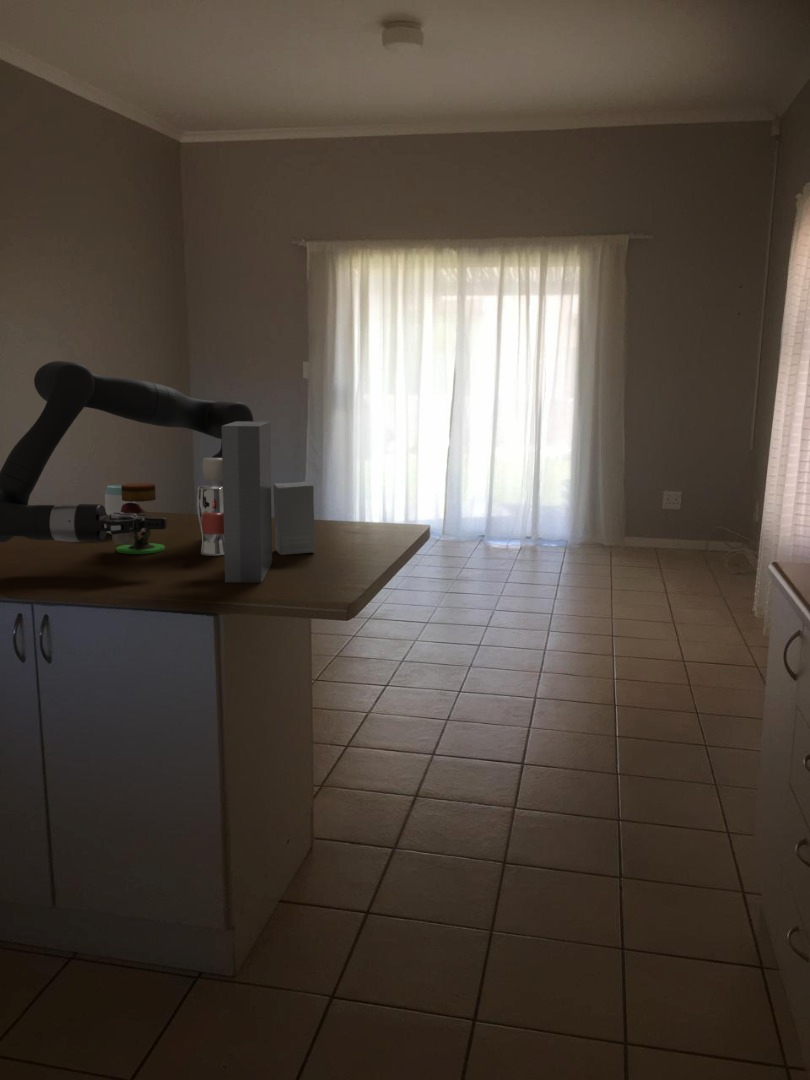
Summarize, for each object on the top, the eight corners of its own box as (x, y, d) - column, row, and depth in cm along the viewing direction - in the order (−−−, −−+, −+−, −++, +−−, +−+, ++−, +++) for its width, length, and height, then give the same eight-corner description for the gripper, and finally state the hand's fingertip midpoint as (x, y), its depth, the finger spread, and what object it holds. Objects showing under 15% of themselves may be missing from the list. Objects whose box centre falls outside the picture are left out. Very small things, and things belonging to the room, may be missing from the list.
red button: (201, 536, 176) (201, 514, 175) (206, 532, 180) (205, 511, 180) (227, 536, 176) (226, 514, 175) (230, 532, 180) (230, 511, 180)
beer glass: (203, 557, 194) (201, 489, 192) (195, 551, 200) (193, 485, 198) (234, 554, 198) (232, 488, 195) (225, 549, 204) (223, 484, 201)
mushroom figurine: (149, 543, 210) (146, 480, 208) (176, 550, 201) (174, 485, 199) (101, 549, 202) (98, 483, 199) (128, 557, 193) (125, 489, 191)
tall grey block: (225, 582, 171) (221, 425, 166) (239, 563, 189) (236, 421, 183) (261, 582, 171) (259, 426, 166) (272, 563, 189) (270, 421, 184)
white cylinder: (202, 481, 174) (202, 458, 173) (206, 478, 178) (206, 456, 178) (228, 481, 174) (227, 459, 173) (231, 478, 179) (231, 457, 178)
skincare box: (309, 548, 206) (308, 480, 204) (316, 554, 200) (315, 484, 197) (273, 550, 204) (272, 481, 201) (278, 556, 197) (277, 485, 194)
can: (100, 534, 220) (98, 486, 218) (119, 530, 227) (117, 483, 225) (123, 536, 218) (121, 488, 216) (141, 532, 224) (140, 485, 222)
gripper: (66, 509, 170) (157, 509, 170) (88, 499, 183) (172, 500, 183) (68, 547, 171) (158, 547, 172) (90, 535, 184) (174, 536, 185)
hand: (166, 523), depth 178 cm, fingers closed
